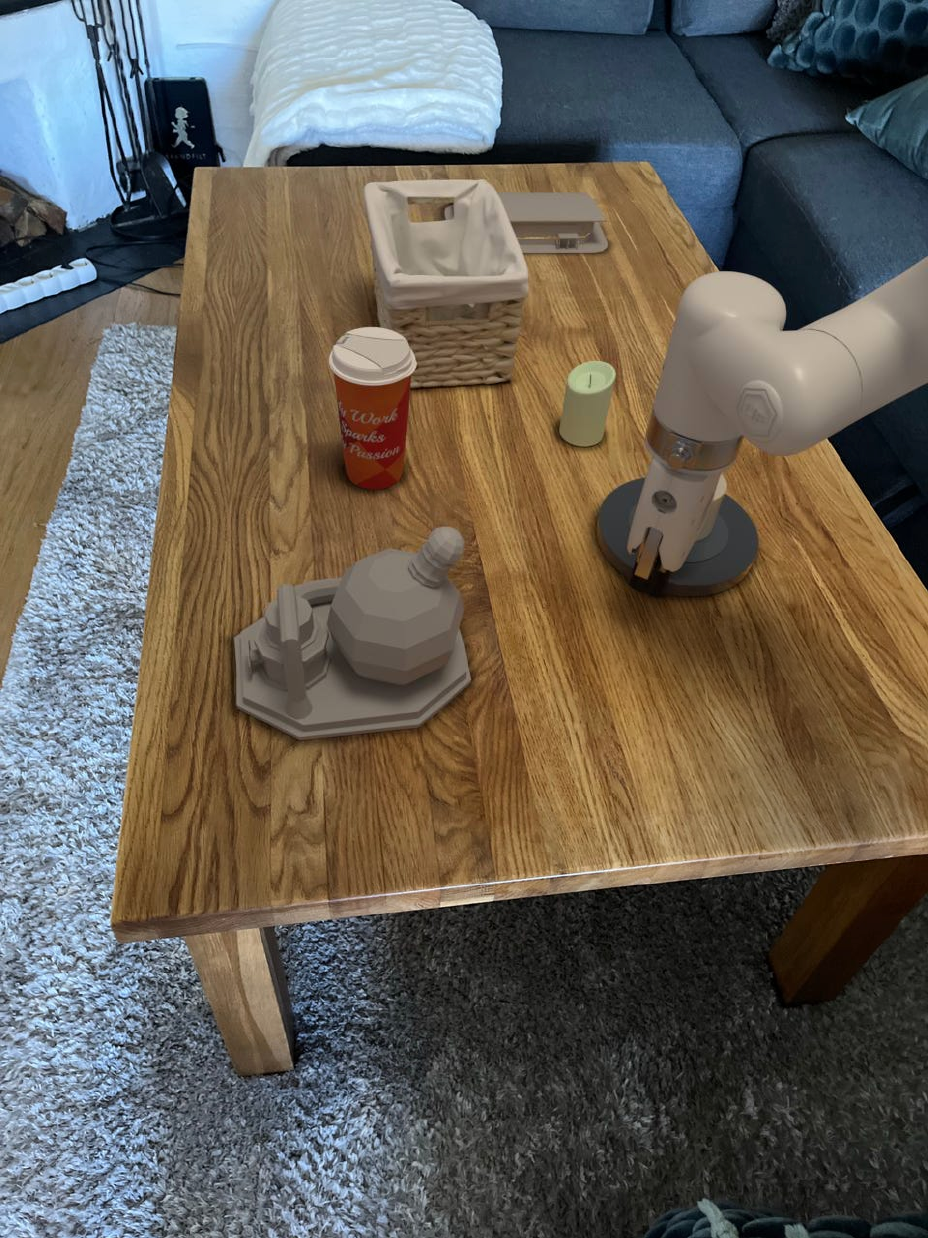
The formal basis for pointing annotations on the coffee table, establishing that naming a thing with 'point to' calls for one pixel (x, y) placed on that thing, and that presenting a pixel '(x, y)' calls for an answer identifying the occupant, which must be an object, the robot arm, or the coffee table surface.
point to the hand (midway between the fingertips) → (647, 587)
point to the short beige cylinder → (714, 509)
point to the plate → (709, 559)
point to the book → (553, 221)
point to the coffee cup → (373, 403)
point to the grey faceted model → (359, 646)
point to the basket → (448, 279)
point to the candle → (587, 403)
